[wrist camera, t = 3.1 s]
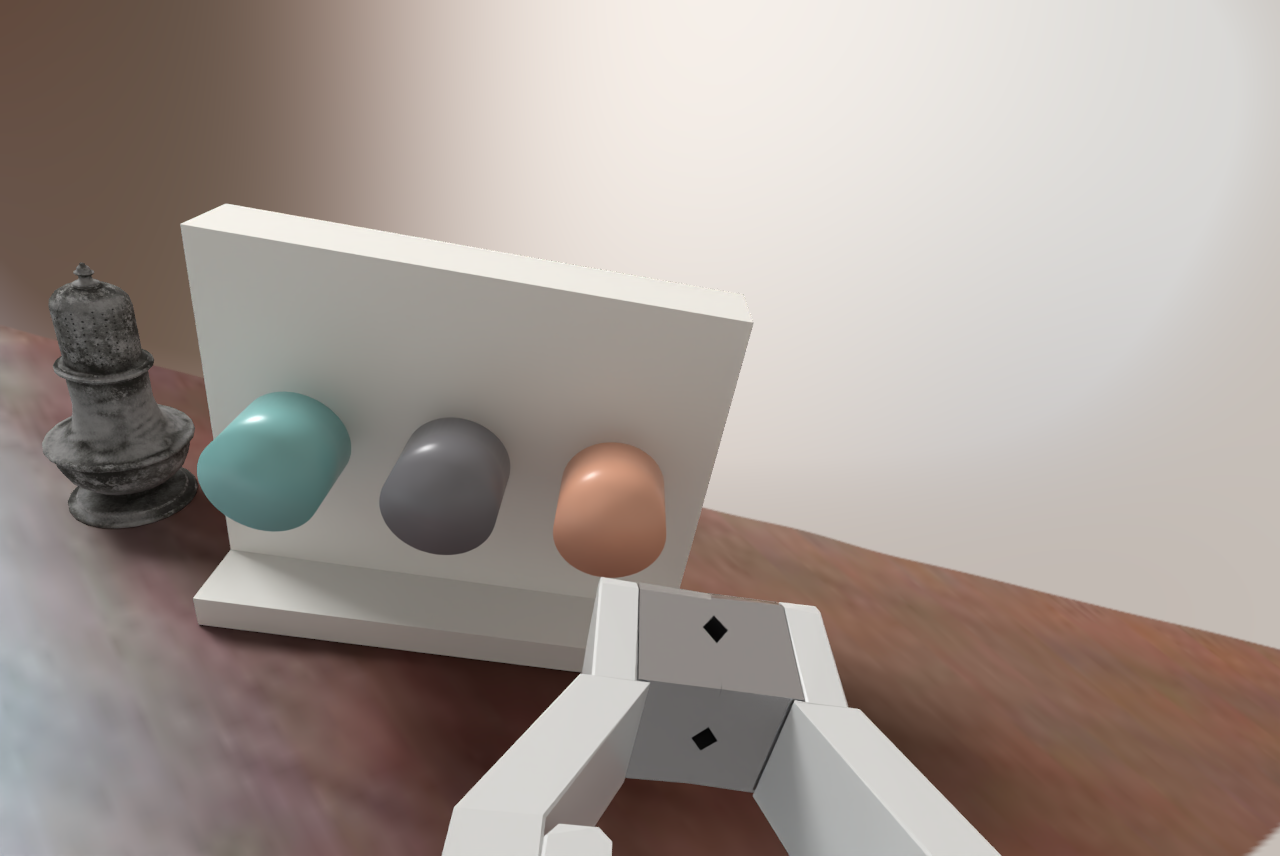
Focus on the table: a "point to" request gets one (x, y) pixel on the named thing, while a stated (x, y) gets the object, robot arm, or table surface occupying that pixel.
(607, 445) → the terracotta button
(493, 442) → the charcoal button
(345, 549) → the console
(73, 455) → the grey stone chess piece
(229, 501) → the teal button
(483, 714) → the table surface
